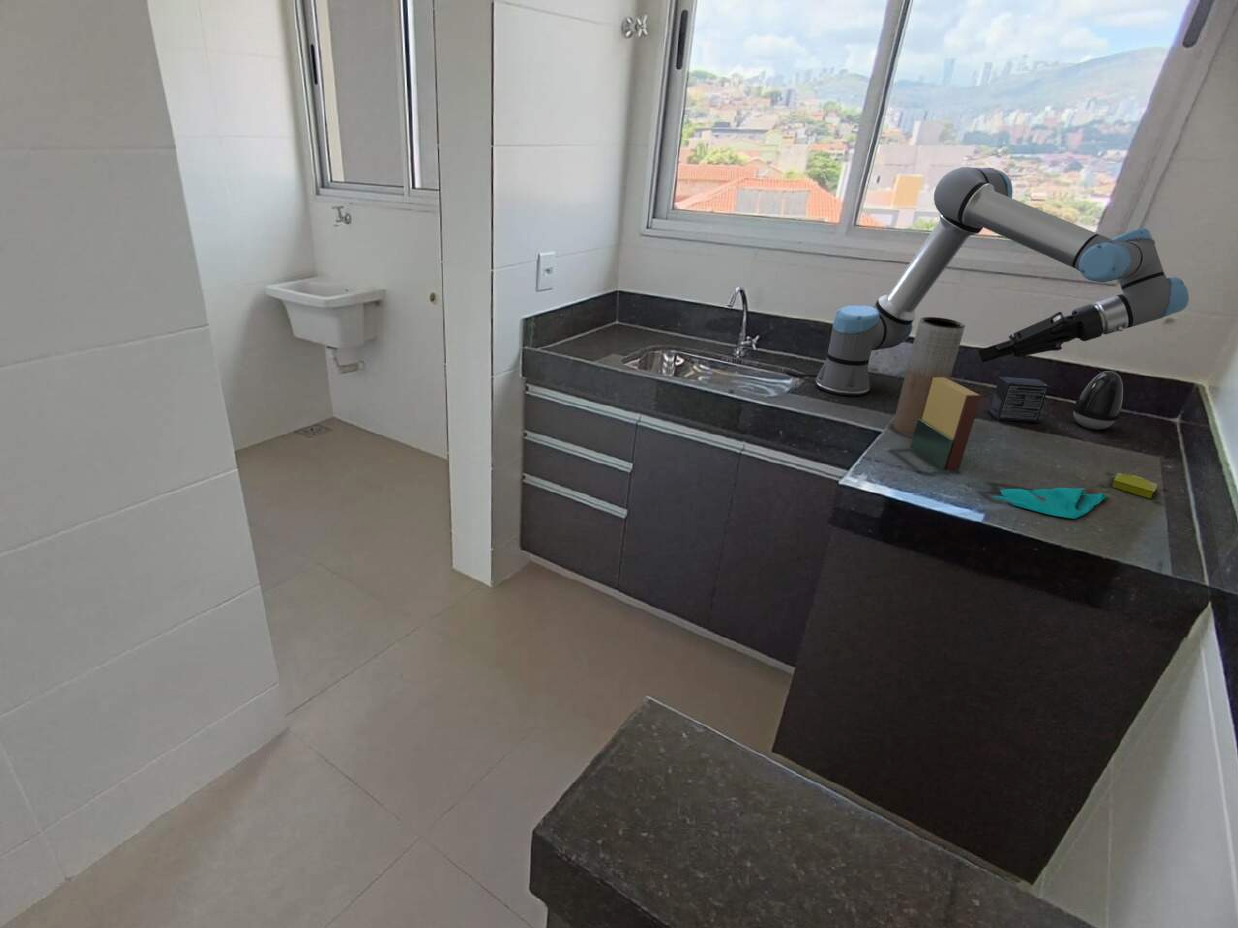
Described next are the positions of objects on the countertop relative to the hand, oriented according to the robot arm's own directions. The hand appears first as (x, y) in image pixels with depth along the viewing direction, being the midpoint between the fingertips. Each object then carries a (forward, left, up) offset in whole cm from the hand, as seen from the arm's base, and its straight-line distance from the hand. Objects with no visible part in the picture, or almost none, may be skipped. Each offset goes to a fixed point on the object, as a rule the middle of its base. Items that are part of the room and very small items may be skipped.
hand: (980, 356), depth 153 cm
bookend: (-2, -22, -21) cm, 30 cm away
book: (0, -18, -21) cm, 28 cm away
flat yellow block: (+36, +1, -21) cm, 42 cm away
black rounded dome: (+23, +39, -21) cm, 50 cm away
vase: (-10, -3, -21) cm, 24 cm away
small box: (+6, +29, -21) cm, 37 cm away
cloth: (+24, -21, -21) cm, 39 cm away
